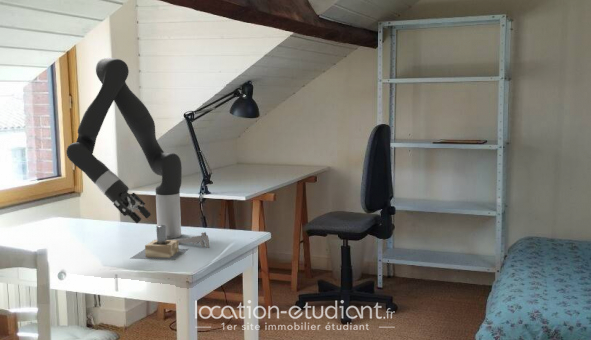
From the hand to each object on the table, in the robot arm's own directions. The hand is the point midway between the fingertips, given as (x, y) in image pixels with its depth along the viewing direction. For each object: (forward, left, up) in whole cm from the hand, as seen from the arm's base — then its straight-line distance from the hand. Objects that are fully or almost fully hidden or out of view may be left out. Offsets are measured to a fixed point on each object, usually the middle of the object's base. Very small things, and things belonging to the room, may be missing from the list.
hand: (144, 218), depth 228 cm
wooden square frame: (0, +6, -12) cm, 14 cm away
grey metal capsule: (0, +6, -12) cm, 14 cm away
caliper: (-14, +10, -13) cm, 22 cm away
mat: (0, +5, -13) cm, 14 cm away
